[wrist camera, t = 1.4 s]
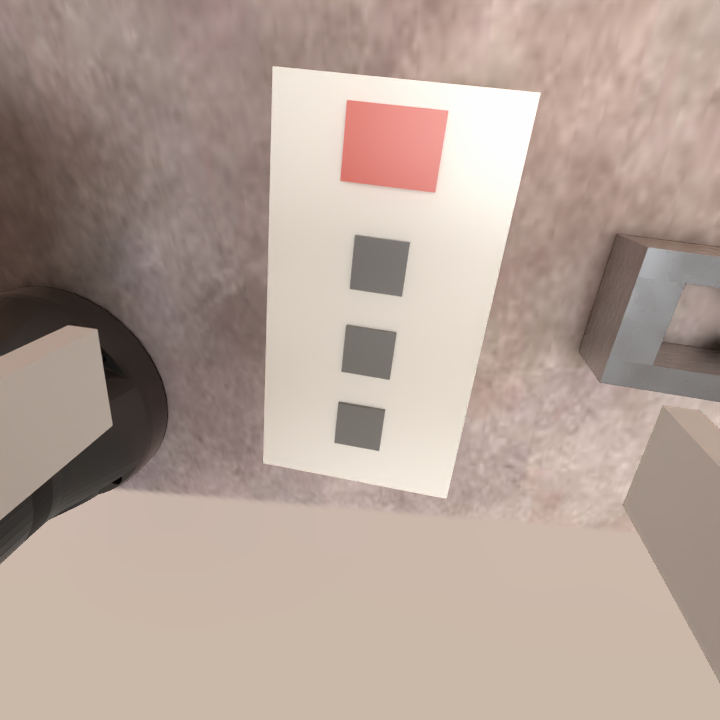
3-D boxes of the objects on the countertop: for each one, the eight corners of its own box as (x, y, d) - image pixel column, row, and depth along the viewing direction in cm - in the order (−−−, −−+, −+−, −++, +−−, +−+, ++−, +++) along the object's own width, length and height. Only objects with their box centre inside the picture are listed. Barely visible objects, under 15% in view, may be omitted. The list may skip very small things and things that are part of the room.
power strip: (445, 407, 29) (446, 509, 20) (309, 384, 29) (257, 472, 21) (507, 115, 22) (545, 89, 14) (329, 96, 23) (265, 62, 15)
